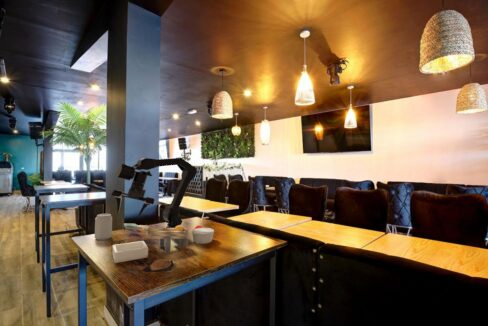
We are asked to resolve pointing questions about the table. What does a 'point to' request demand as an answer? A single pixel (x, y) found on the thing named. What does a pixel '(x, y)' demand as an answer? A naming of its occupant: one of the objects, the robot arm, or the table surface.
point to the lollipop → (200, 223)
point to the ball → (178, 228)
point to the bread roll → (160, 266)
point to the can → (103, 226)
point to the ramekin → (202, 235)
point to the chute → (162, 233)
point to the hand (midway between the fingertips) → (128, 215)
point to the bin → (129, 251)
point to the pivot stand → (167, 244)
